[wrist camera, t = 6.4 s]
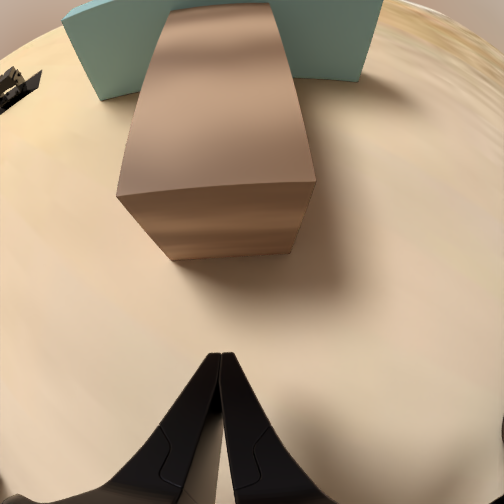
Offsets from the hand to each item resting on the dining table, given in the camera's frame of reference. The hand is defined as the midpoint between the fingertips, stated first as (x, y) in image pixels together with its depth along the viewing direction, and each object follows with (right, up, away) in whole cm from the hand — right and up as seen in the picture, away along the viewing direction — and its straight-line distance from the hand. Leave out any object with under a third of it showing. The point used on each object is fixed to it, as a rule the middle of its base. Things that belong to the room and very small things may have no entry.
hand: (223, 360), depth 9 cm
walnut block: (-1, +11, +10) cm, 15 cm away
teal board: (-2, +22, +14) cm, 26 cm away
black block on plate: (-31, +25, +16) cm, 43 cm away
